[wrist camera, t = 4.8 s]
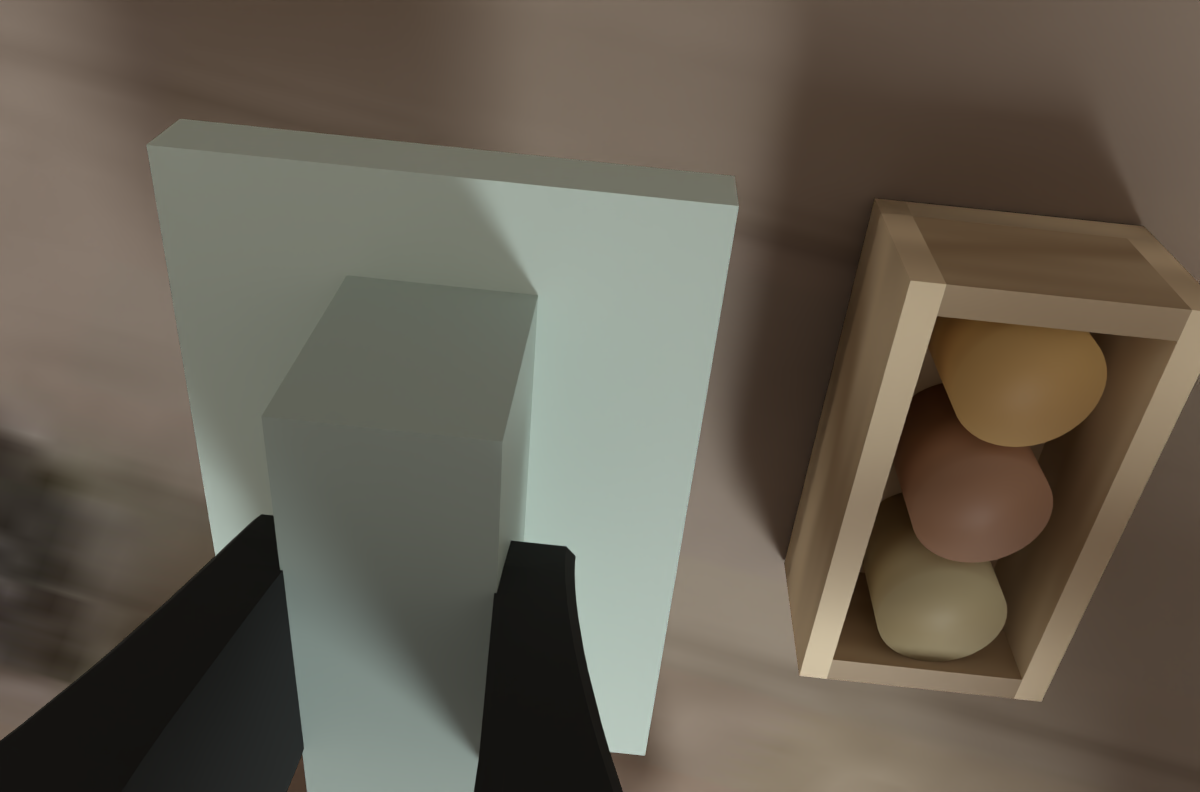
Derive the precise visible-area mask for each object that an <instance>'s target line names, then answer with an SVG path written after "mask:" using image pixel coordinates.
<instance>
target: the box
mask: <svg viewBox="0 0 1200 792" xmlns="http://www.w3.org/2000/svg"><path fill="white" fill-rule="evenodd" d="M1199 374H1200V284H1199V283H1198V282H1197V281H1196V280H1195V279H1194V278H1193V277H1192V276H1191V275H1190V274H1189V273H1188V272H1187V270H1186V269H1185V268H1184V267H1183V266H1182V265H1181V264H1180V263H1179V262H1178V261H1177V260H1176V259H1175V258H1174V257H1173V256H1172V255H1171V254H1170V253H1169V252H1168V251H1167V250H1166V249H1165V248H1164V247H1163V246H1162V245H1161V244H1160V242H1159V241H1158V240H1157V239H1156V238H1155V237H1154V236H1153V235H1152V234H1151V233H1150V232H1149V231H1148V230H1147V229H1146V228H1145V227H1144V226H1135V225H1126V224H1116V223H1106V222H1097V221H1087V220H1078V219H1068V218H1058V217H1049V216H1039V215H1030V214H1020V213H1010V212H1001V211H991V210H982V209H972V208H962V207H953V206H943V205H934V204H924V203H914V202H905V201H895V200H886V199H876V198H875V199H874V203H873V207H872V211H871V215H870V219H869V223H868V227H867V231H866V236H865V240H864V244H863V248H862V252H861V256H860V260H859V264H858V268H857V272H856V276H855V280H854V284H853V288H852V292H851V296H850V300H849V304H848V308H847V312H846V316H845V320H844V324H843V328H842V332H841V336H840V341H839V345H838V349H837V353H836V357H835V361H834V365H833V369H832V373H831V377H830V381H829V385H828V389H827V393H826V397H825V401H824V405H823V409H822V413H821V417H820V421H819V425H818V429H817V433H816V437H815V442H814V446H813V450H812V454H811V458H810V462H809V466H808V470H807V474H806V478H805V482H804V486H803V490H802V494H801V498H800V502H799V506H798V510H797V514H796V518H795V522H794V526H793V530H792V534H791V538H790V542H789V547H788V551H787V555H786V559H785V563H784V564H785V572H786V579H787V587H788V594H789V602H790V609H791V617H792V624H793V632H794V639H795V647H796V655H797V662H798V670H799V676H805V677H815V678H824V679H833V680H843V681H852V682H861V683H871V684H880V685H890V686H899V687H908V688H918V689H927V690H936V691H946V692H955V693H964V694H974V695H983V696H992V697H1002V698H1011V699H1020V700H1030V701H1039V702H1041V701H1042V699H1043V697H1044V695H1045V693H1046V691H1047V689H1048V687H1049V685H1050V683H1051V681H1052V678H1053V676H1054V674H1055V672H1056V670H1057V668H1058V666H1059V664H1060V662H1061V660H1062V658H1063V656H1064V654H1065V652H1066V649H1067V647H1068V645H1069V643H1070V641H1071V639H1072V637H1073V635H1074V633H1075V631H1076V629H1077V627H1078V625H1079V622H1080V620H1081V618H1082V616H1083V614H1084V612H1085V610H1086V608H1087V606H1088V604H1089V602H1090V600H1091V598H1092V596H1093V593H1094V591H1095V589H1096V587H1097V585H1098V583H1099V581H1100V579H1101V577H1102V575H1103V573H1104V571H1105V569H1106V567H1107V564H1108V562H1109V560H1110V558H1111V556H1112V554H1113V552H1114V550H1115V548H1116V546H1117V544H1118V542H1119V540H1120V537H1121V535H1122V533H1123V531H1124V529H1125V527H1126V525H1127V523H1128V521H1129V519H1130V517H1131V515H1132V513H1133V511H1134V508H1135V506H1136V504H1137V502H1138V500H1139V498H1140V496H1141V494H1142V492H1143V490H1144V488H1145V486H1146V484H1147V481H1148V479H1149V477H1150V475H1151V473H1152V471H1153V469H1154V467H1155V465H1156V463H1157V461H1158V459H1159V457H1160V455H1161V452H1162V450H1163V448H1164V446H1165V444H1166V442H1167V440H1168V438H1169V436H1170V434H1171V432H1172V430H1173V428H1174V426H1175V423H1176V421H1177V419H1178V417H1179V415H1180V413H1181V411H1182V409H1183V407H1184V405H1185V403H1186V401H1187V399H1188V396H1189V394H1190V392H1191V390H1192V388H1193V386H1194V384H1195V382H1196V380H1197V378H1198V376H1199Z"/></svg>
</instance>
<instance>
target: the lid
mask: <svg viewBox="0 0 1200 792" xmlns="http://www.w3.org/2000/svg"><path fill="white" fill-rule="evenodd" d="M147 151H148V157H149V163H150V169H151V175H152V181H153V187H154V193H155V199H156V205H157V211H158V217H159V223H160V229H161V235H162V241H163V247H164V253H165V259H166V265H167V271H168V276H169V282H170V288H171V294H172V300H173V306H174V312H175V318H176V324H177V330H178V336H179V342H180V348H181V354H182V360H183V366H184V372H185V378H186V384H187V390H188V396H189V402H190V408H191V414H192V420H193V426H194V431H195V437H196V443H197V449H198V455H199V461H200V467H201V473H202V479H203V485H204V491H205V497H206V503H207V509H208V515H209V521H210V527H211V533H212V539H213V545H214V551H215V556H216V555H217V554H218V553H219V552H220V551H221V550H222V549H223V548H224V547H225V546H226V545H227V544H228V543H229V542H230V541H231V540H233V539H234V538H235V537H236V536H237V535H238V534H239V533H240V532H241V531H242V530H243V529H244V528H245V527H246V526H247V525H248V524H250V523H251V522H252V521H253V520H254V519H256V518H257V517H258V516H260V515H261V514H265V515H273V516H274V524H275V533H276V541H277V549H278V557H279V565H280V570H283V576H284V584H285V592H286V601H287V609H288V617H289V626H290V634H291V642H292V651H293V659H294V667H295V676H296V684H297V692H298V701H299V709H300V717H301V726H302V734H303V742H304V750H303V753H302V754H303V762H304V771H305V779H306V787H307V792H474V787H475V780H476V773H477V766H478V759H479V751H480V740H481V729H482V718H483V707H484V696H485V686H486V675H487V664H488V653H489V642H490V631H491V621H492V610H493V599H494V593H497V590H498V586H499V582H500V578H501V574H502V571H503V567H504V563H505V560H506V556H507V553H508V549H509V546H510V542H511V541H521V542H530V543H540V544H549V545H559V546H566V547H567V548H568V549H569V550H570V551H571V552H572V553H573V554H574V555H575V556H576V559H575V591H576V602H577V610H578V618H579V624H580V630H581V636H582V642H583V648H584V653H585V658H586V662H587V667H588V672H589V676H590V680H591V684H592V688H593V692H594V696H595V699H596V703H597V707H598V711H599V715H600V719H601V723H602V727H603V730H604V734H605V737H606V740H607V744H608V747H609V751H610V752H615V753H624V754H634V755H643V756H645V753H646V747H647V741H648V735H649V729H650V723H651V718H652V712H653V706H654V700H655V694H656V688H657V682H658V677H659V671H660V665H661V659H662V653H663V647H664V641H665V636H666V630H667V624H668V618H669V612H670V606H671V600H672V595H673V589H674V583H675V577H676V571H677V565H678V559H679V554H680V548H681V542H682V536H683V530H684V524H685V518H686V513H687V507H688V501H689V495H690V489H691V483H692V477H693V472H694V466H695V460H696V454H697V448H698V442H699V436H700V431H701V425H702V419H703V413H704V407H705V401H706V395H707V390H708V384H709V378H710V372H711V366H712V360H713V354H714V349H715V343H716V337H717V331H718V325H719V319H720V313H721V308H722V302H723V296H724V290H725V284H726V278H727V272H728V267H729V261H730V255H731V249H732V243H733V237H734V231H735V226H736V220H737V214H738V208H739V204H738V196H737V189H736V182H735V176H729V175H720V174H710V173H700V172H691V171H681V170H671V169H662V168H652V167H642V166H633V165H623V164H613V163H604V162H594V161H584V160H575V159H565V158H555V157H546V156H536V155H526V154H517V153H507V152H497V151H487V150H478V149H468V148H458V147H449V146H439V145H429V144H420V143H410V142H400V141H391V140H381V139H371V138H362V137H352V136H342V135H333V134H323V133H313V132H304V131H294V130H284V129H275V128H265V127H255V126H246V125H236V124H226V123H217V122H207V121H197V120H188V119H179V120H178V121H176V122H175V123H174V124H172V125H171V126H170V127H169V128H167V129H166V130H165V131H163V132H162V133H161V134H160V135H158V136H157V137H156V138H154V139H153V140H152V141H151V142H149V143H148V144H147Z"/></svg>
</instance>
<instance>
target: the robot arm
mask: <svg viewBox="0 0 1200 792" xmlns="http://www.w3.org/2000/svg"><path fill="white" fill-rule="evenodd" d="M575 559H576V556H575V555H574V554H573V553H572V552H571V551H570V550H569V549H568V548H567V547H566V546H559V545H549V544H540V543H530V542H521V541H511V542H510V546H509V549H508V553H507V556H506V560H505V563H504V567H503V571H502V574H501V578H500V582H499V586H498V590H497V593H494V599H493V610H492V621H491V631H490V642H489V653H488V664H487V675H486V686H485V696H484V707H483V718H482V729H481V740H480V751H479V759H478V766H477V773H476V780H475V787H474V792H623V791H622V788H621V785H620V782H619V779H618V776H617V773H616V770H615V766H614V763H613V760H612V757H611V754H610V751H609V747H608V744H607V740H606V737H605V734H604V730H603V727H602V723H601V719H600V715H599V711H598V707H597V703H596V699H595V696H594V692H593V688H592V684H591V680H590V676H589V672H588V667H587V662H586V658H585V653H584V648H583V642H582V636H581V630H580V624H579V618H578V610H577V602H576V591H575ZM303 750H304V742H303V734H302V726H301V717H300V709H299V701H298V692H297V684H296V676H295V667H294V659H293V651H292V642H291V634H290V626H289V617H288V609H287V601H286V592H285V584H284V576H283V570H280V565H279V557H278V549H277V541H276V533H275V524H274V516H273V515H265V514H261V515H260V516H258V517H257V518H256V519H254V520H253V521H252V522H251V523H250V524H248V525H247V526H246V527H245V528H244V529H243V530H242V531H241V532H240V533H239V534H238V535H237V536H236V537H235V538H234V539H233V540H231V541H230V542H229V543H228V544H227V545H226V546H225V547H224V548H223V549H222V550H221V551H220V552H219V553H218V554H217V555H216V556H215V557H214V558H213V559H211V560H210V561H209V562H208V563H207V564H206V565H205V566H204V567H203V568H202V569H201V570H200V571H199V572H198V573H197V574H196V575H195V576H193V577H192V578H191V579H190V580H189V581H188V582H187V583H186V584H185V585H184V586H183V587H182V588H181V589H179V590H178V591H177V592H176V593H175V594H174V595H173V596H172V597H171V598H170V599H169V600H168V601H166V602H165V603H164V604H163V605H162V606H161V607H160V608H159V609H158V610H157V611H155V612H154V613H153V614H152V615H151V616H150V617H149V618H148V619H146V620H145V621H144V622H143V623H142V624H141V625H140V626H138V627H137V628H136V629H135V630H134V631H133V632H132V633H131V634H129V635H128V636H127V637H126V638H125V639H124V640H123V641H122V642H120V643H119V644H118V645H117V646H116V647H115V648H114V649H112V650H111V651H110V652H109V653H108V654H107V655H106V656H105V657H103V658H102V659H101V660H100V661H99V662H97V663H96V664H95V665H94V666H93V667H92V668H90V669H89V670H88V671H87V672H86V673H84V674H83V675H82V676H81V677H79V678H78V679H77V680H76V681H74V682H73V683H72V684H71V685H70V686H68V687H67V688H66V689H65V690H63V691H62V692H61V693H60V694H58V695H57V696H56V697H55V698H53V699H52V700H51V701H50V702H49V703H47V704H46V705H45V706H44V707H42V708H41V709H40V710H39V711H37V712H36V713H35V714H34V715H33V716H31V717H30V718H29V719H28V720H26V721H25V722H24V723H23V724H21V725H20V726H19V727H18V728H16V729H15V730H14V731H12V732H11V733H10V734H8V735H7V736H6V737H4V738H3V739H2V740H1V741H0V792H287V790H288V787H289V785H290V783H291V780H292V778H293V775H294V773H295V770H296V768H297V765H298V763H299V760H300V758H301V755H302V753H303Z"/></svg>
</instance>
